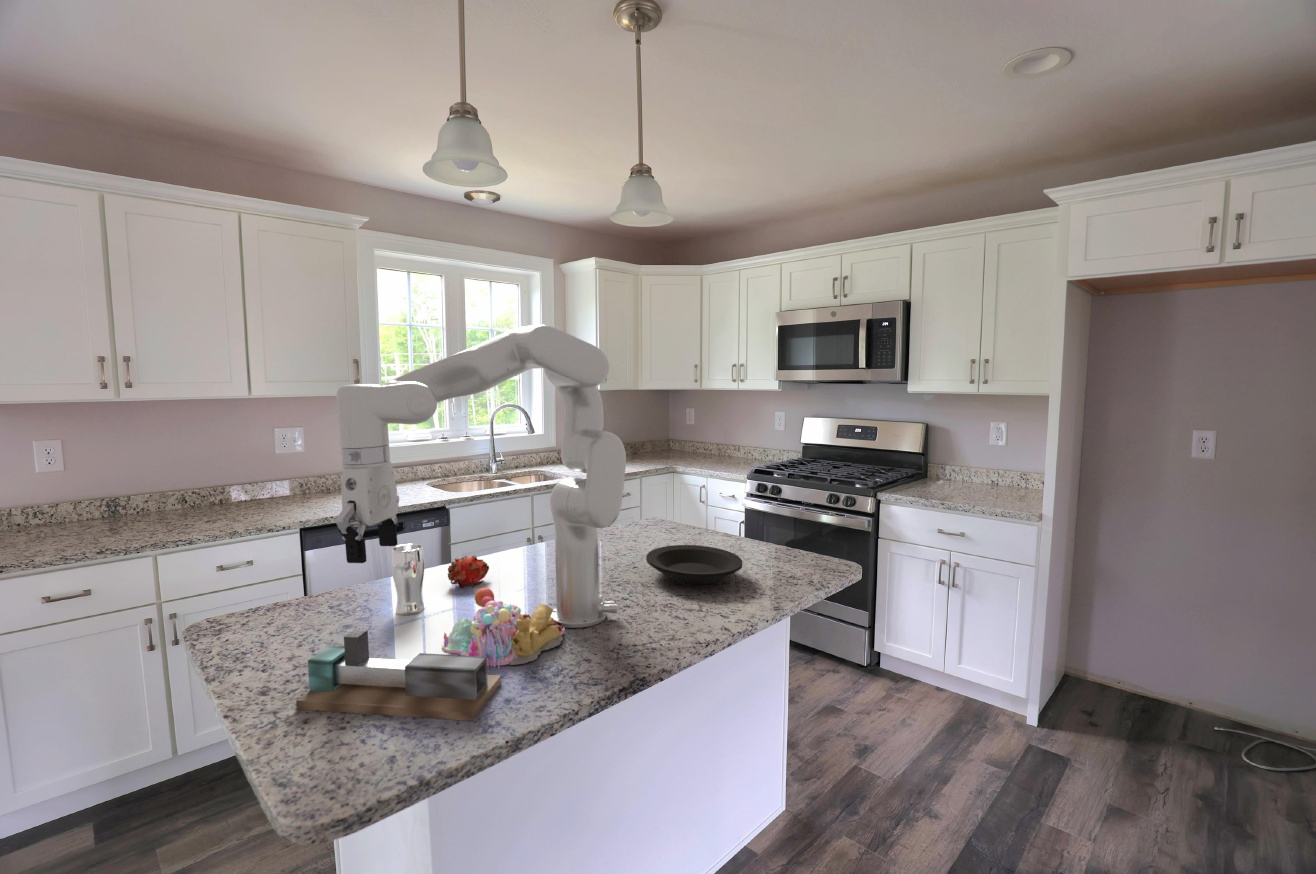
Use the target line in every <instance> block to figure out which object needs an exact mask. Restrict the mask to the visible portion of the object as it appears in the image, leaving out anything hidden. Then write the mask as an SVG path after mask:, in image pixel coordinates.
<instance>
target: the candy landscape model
mask: <svg viewBox="0 0 1316 874" xmlns="http://www.w3.org/2000/svg"><path fill="white" fill-rule="evenodd" d="M474 601H475V604H476V605H477V606H478V607H481V608H479V609H478V610H477V611H476V612H475V615H473V617H472V618H473V621H472V620H469V618H466V617H463V618H461V619H459V620H457V622H456V623H454V625H453V627H452V629H451V631H450V633H448V634H447V633H446V632H444V634H443V640H442V644H441V649H442V651H444V652H446V653H449V654H454V655H464V656H483V657H487V670H489V669H490V668H492V667H494V668H496V666H497V667H498V669H500V666H505V665H513V666H514V665H515V666H516V665H521V664H522V665H523V664H527V663H529V662H533V661H535V660H537V659H538V656H539V655H541V652H542V651H547V650H550V649H552V648H556V647H557V646H559V645H561V644H562V642H561V641H563V634H564V633H565V632H566V629H565V628H566V627H563V626H561V624H560V623H559V622H557V621H556V620H555V621H554V619H553V618H551V617H550V616H551V614H552V612H553V609H554V608H552V607H550V606H548V605H547V604H544V603H538V605H537V607H536V608H535V610H534V612H533V614H532V615H531V616H530V615H529V614H527V613H525V614H522V613H521V612H522V609H521V608H520V607H519V606H518V605H515V604H507V603H504V602H503V601H502V600H499V601H498V600H496V599H495V594H494V591H493V590H492V589H491V588H489V587H481V588H479V589H478V590H477V591H476V593H475V595H474ZM489 667H490V668H489Z"/></svg>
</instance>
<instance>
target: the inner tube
mask: <svg viewBox="0 0 1316 874" xmlns="http://www.w3.org/2000/svg"><path fill="white" fill-rule="evenodd" d="M343 644H344V645H343V647H344V649H345V657H341V658H339V659H338V660H337V661H335V662H334V663H332V664H333V681H334V683H338V684H354V685H371V686H388V687H405V688H406V686H405V666H406V665H407V664H408V663H409V662H410V661H412V660H413V659H410V660H409V659H397V658H396V659H394V658H379V657H378V658H376V657H370V652H369V651H370V649H369V648H370V647H369V632H368V629H367V630H366V629H353V630H352V631H350V632H349V633H347V634H346V635H344V636H343Z"/></svg>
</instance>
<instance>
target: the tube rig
mask: <svg viewBox="0 0 1316 874" xmlns="http://www.w3.org/2000/svg"><path fill="white" fill-rule="evenodd" d="M341 657H345V649H344V646H335V645H334V646H333V645H329V646H327V647H326V648H324V649H323V650H321V651H319V652H318V653H317V654H315V655H313V656H312V657H311V658H310V659H308V660H307V667H308V668H307V669H308V684H309V685H308V686H309V690H308V691H307V692H306V693H305V694H303V695H302V696H300V697H299V698H297V699H296V700H295V701H296V703H295V704H296V710H300V709H304V711H315V710H320V712H331V713H332V712H333V713H334V712H336V713H349V714H350V713H351V714H362V715H363V714H365V715H379V716H393V717H394V716H395V717H408V718H409V717H411V718H426V719H439V720H440V719H441V720H454V721H455V720H456V721H472V722H473V721H474V720H475V718H476V717H477V715H478V714H479V713H480V712H481V710H482V709H483V708H484V707H485V706H486V704H487V703H488V702H489V700H490V699H491V697H493V695H494V693H495V692H496V691H497V689H498V688H499V687H500V686H501V684H502V675H500V674H488V666H487V657H483V656H464V655H460V654H443V653H425V652H424V653H421V652H419V653H418V654H417V655H416V656H415V657H414V658H413V659H411V660H412V661H410V662H409V663H408V664H407V665H406V666H405V686H406V688H405V687H388V686H371V685H354V684H338V683H334V681H333V664H332V663H334V662H335V661H337V660H338V659H339V658H341Z"/></svg>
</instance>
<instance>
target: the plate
mask: <svg viewBox="0 0 1316 874" xmlns="http://www.w3.org/2000/svg"><path fill="white" fill-rule="evenodd" d="M645 557H646V563H647V564H648V565H649V566H650V567H652V568H653V569H654V570H656V571H658V572H659V573H661V574H663V575H665V576H666V577H668V578H670V579H672V580H674V581H676V582H678V583H679V582H680V584H682V583H683V585H690V586H701V585H707V584H710V583H713V582H716V581H720V580H723V579H725V578H727V577H729V576H731V575H733V574H736V573H737V572H739V571H740V570H741V569H742V567H743V560H742V558H741V556H739V555H737V554H736V553H733V552H732V551H731V552H730V551H728V550H726V549H722V548H718V547H712V546H706V545H695V544H676V545H674V544H673V545H665V546H661V547H657V548H654V549H651V550H650V551H649V552H648V553H647V554H646V556H645Z"/></svg>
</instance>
